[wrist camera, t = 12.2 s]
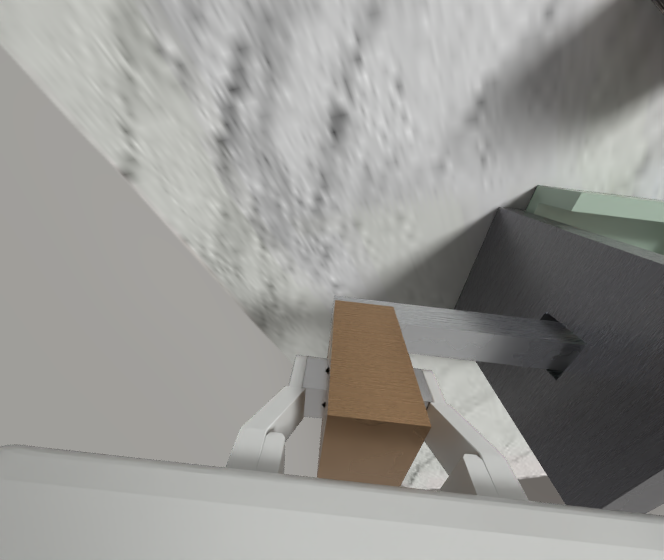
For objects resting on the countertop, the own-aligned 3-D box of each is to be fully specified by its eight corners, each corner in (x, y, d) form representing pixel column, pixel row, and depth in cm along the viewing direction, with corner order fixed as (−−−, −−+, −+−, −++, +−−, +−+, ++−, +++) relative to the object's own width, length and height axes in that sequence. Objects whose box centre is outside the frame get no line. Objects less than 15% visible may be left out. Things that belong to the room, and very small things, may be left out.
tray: (463, 336, 27) (482, 364, 23) (537, 185, 19) (581, 192, 15) (588, 351, 27) (624, 380, 23) (710, 206, 19) (793, 218, 16)
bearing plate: (449, 320, 26) (577, 523, 12) (498, 207, 20) (870, 337, 6) (468, 322, 26) (618, 528, 12) (522, 209, 20) (950, 346, 6)
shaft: (329, 333, 16) (316, 480, 9) (336, 281, 14) (327, 414, 7) (713, 378, 16) (1006, 557, 9) (771, 332, 14) (1205, 514, 7)
